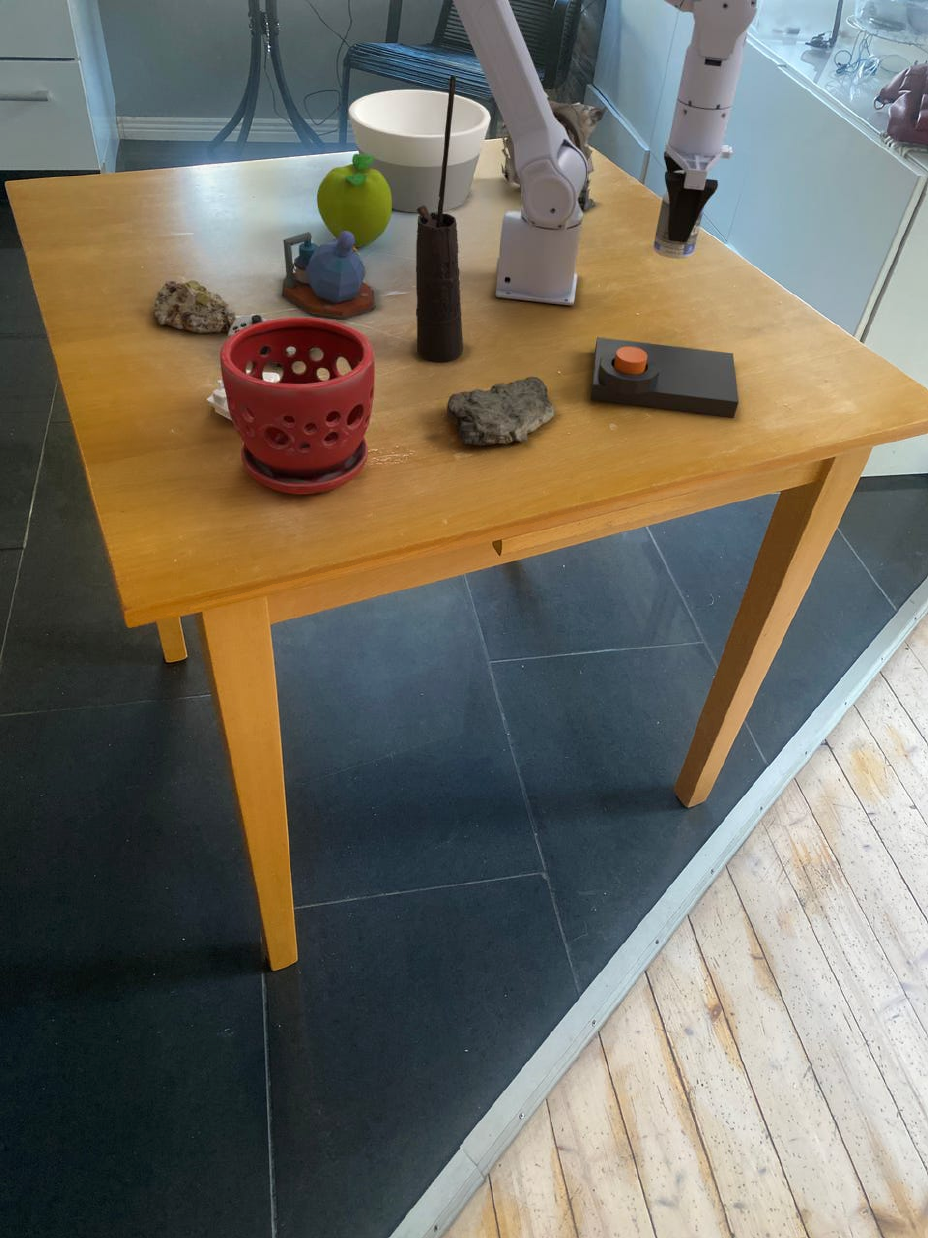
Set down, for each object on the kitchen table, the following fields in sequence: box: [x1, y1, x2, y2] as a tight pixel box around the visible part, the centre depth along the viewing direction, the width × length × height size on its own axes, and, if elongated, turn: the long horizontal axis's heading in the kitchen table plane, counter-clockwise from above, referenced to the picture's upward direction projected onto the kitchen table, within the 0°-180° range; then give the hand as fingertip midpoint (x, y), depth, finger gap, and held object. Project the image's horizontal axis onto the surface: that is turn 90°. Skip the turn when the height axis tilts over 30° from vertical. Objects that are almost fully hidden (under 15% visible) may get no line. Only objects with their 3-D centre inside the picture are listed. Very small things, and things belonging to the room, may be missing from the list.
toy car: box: [206, 369, 281, 421], centre depth 94 cm, size 5×8×4 cm, turn 142°
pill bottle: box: [653, 170, 708, 260], centre depth 107 cm, size 5×5×8 cm
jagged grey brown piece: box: [500, 90, 607, 211], centre depth 133 cm, size 15×4×13 cm, turn 54°
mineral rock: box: [154, 279, 236, 334], centre depth 106 cm, size 11×4×8 cm
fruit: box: [316, 153, 393, 248], centre depth 120 cm, size 9×9×10 cm
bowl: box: [348, 89, 492, 214], centre depth 132 cm, size 19×19×11 cm
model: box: [281, 231, 377, 321], centre depth 109 cm, size 12×9×9 cm
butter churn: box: [415, 74, 464, 363], centre depth 96 cm, size 9×10×28 cm
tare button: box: [614, 347, 647, 375], centre depth 98 cm, size 3×3×2 cm
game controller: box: [227, 314, 316, 368], centre depth 102 cm, size 10×5×6 cm
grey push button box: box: [590, 336, 740, 418], centre depth 101 cm, size 15×11×4 cm
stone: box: [446, 376, 555, 446], centre depth 94 cm, size 14×8×3 cm, turn 123°
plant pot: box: [219, 316, 376, 495], centre depth 85 cm, size 13×13×12 cm
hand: (677, 230), depth 108 cm, fingers closed on pill bottle, 5 cm apart
